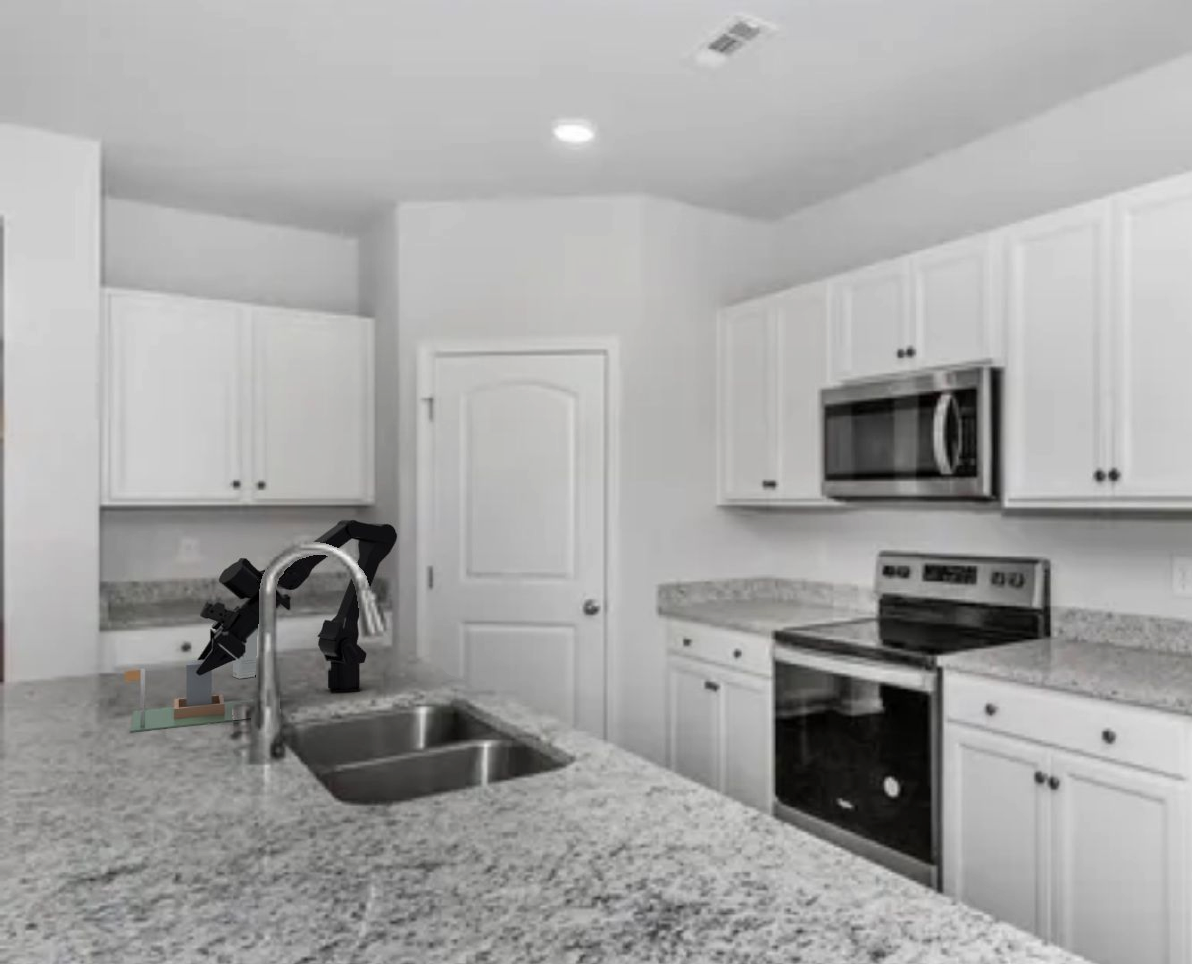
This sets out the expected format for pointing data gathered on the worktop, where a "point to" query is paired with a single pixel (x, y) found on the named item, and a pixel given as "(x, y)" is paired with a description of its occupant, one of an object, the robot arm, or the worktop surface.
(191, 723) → the green base plate
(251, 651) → the skincare box
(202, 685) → the grey block
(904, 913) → the worktop surface
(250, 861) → the worktop surface
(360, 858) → the worktop surface
